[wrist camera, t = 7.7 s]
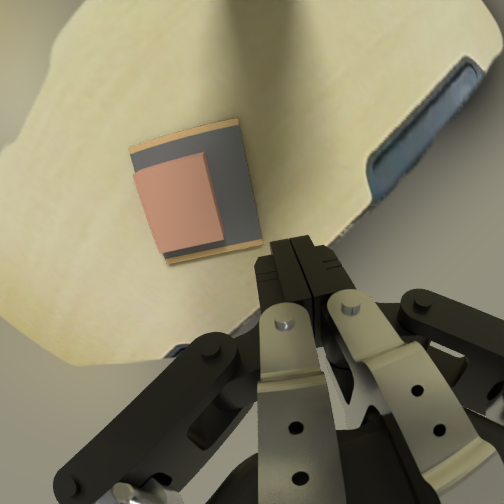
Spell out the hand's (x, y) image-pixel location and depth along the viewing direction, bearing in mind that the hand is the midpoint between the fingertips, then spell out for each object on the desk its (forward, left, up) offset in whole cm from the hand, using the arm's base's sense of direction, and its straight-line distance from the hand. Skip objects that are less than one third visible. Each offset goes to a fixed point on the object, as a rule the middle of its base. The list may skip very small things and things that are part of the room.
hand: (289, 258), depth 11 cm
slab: (+3, -5, -21) cm, 21 cm away
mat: (+3, -7, -23) cm, 24 cm away
